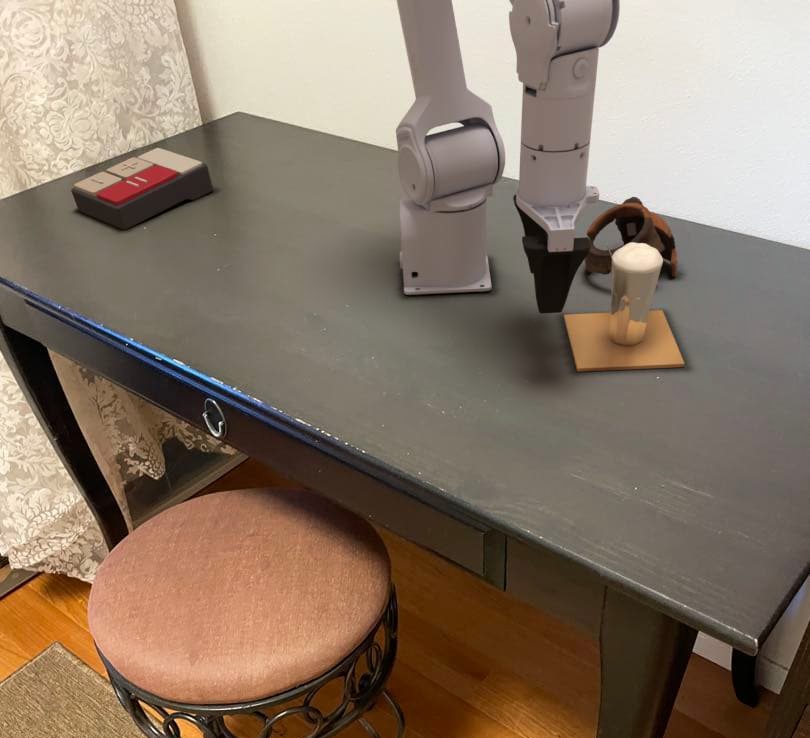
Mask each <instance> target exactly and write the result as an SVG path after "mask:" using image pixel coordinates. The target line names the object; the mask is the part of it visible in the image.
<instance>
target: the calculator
mask: <svg viewBox="0 0 810 738" xmlns="http://www.w3.org/2000/svg"><path fill="white" fill-rule="evenodd" d="M73 186H74V187H72V188H71V189H70V192H71V194H72V197H73V199H74V203H75V205H76V207H77V210H78V212H81V213H83V214H86V215H87V216H90V217H93V218H95V219H97V220H99V221H102V222H104V223H106V224H109V225H111V226H114V227H116V228H118V229H121V230H123V231H126V230H129V229H130V228H132V227H134V226H136V225H139V224H140V223H142V222H144V221H147V220H148V219H150V218H152V217H154V216H156V215H159V214H160V213H162V212H164V211H165V210H168V209H169V208H170V209H171V208H172V207H174V206H176V205H178V204H179V203H182V202H184V201H185V200H189V201H195V200H197V199H199V198H201V197H203V196H205V195H207V194H209V193H212V192H213V191H214V185H213V182H212V179H211V174H210V171H209V167H208V164H207V163H204V162H202V161H200V160H197V159H194V158H191V157H188V156H185V155H182V154H179V153H175V152H173V151H171V150H167V149H164V148H161V147H156V148H154V149H151V150H149V151H147V152H145V153H143V154H140V155H138V156H137V157H134V156H133V157H130V158H128V159H126V160H124V161H122V162H119V163H116V164H115V165H112V166H111V167H109V168H107V169H106V171H100V172H97V173H96V174H93V175H91V176H89V177H86V178H85V179H83V180H80V181H78V182H76V183H74V184H73Z"/></svg>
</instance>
